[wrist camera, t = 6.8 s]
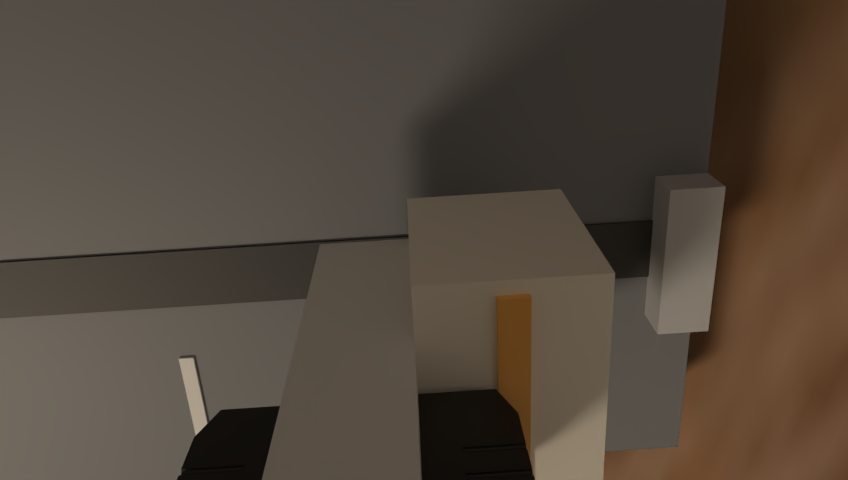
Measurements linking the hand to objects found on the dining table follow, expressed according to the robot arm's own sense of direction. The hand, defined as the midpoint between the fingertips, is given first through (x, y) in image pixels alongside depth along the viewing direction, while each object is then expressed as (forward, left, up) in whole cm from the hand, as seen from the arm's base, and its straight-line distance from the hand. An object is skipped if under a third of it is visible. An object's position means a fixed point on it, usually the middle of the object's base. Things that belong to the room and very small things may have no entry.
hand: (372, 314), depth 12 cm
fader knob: (+2, 0, -2) cm, 3 cm away
